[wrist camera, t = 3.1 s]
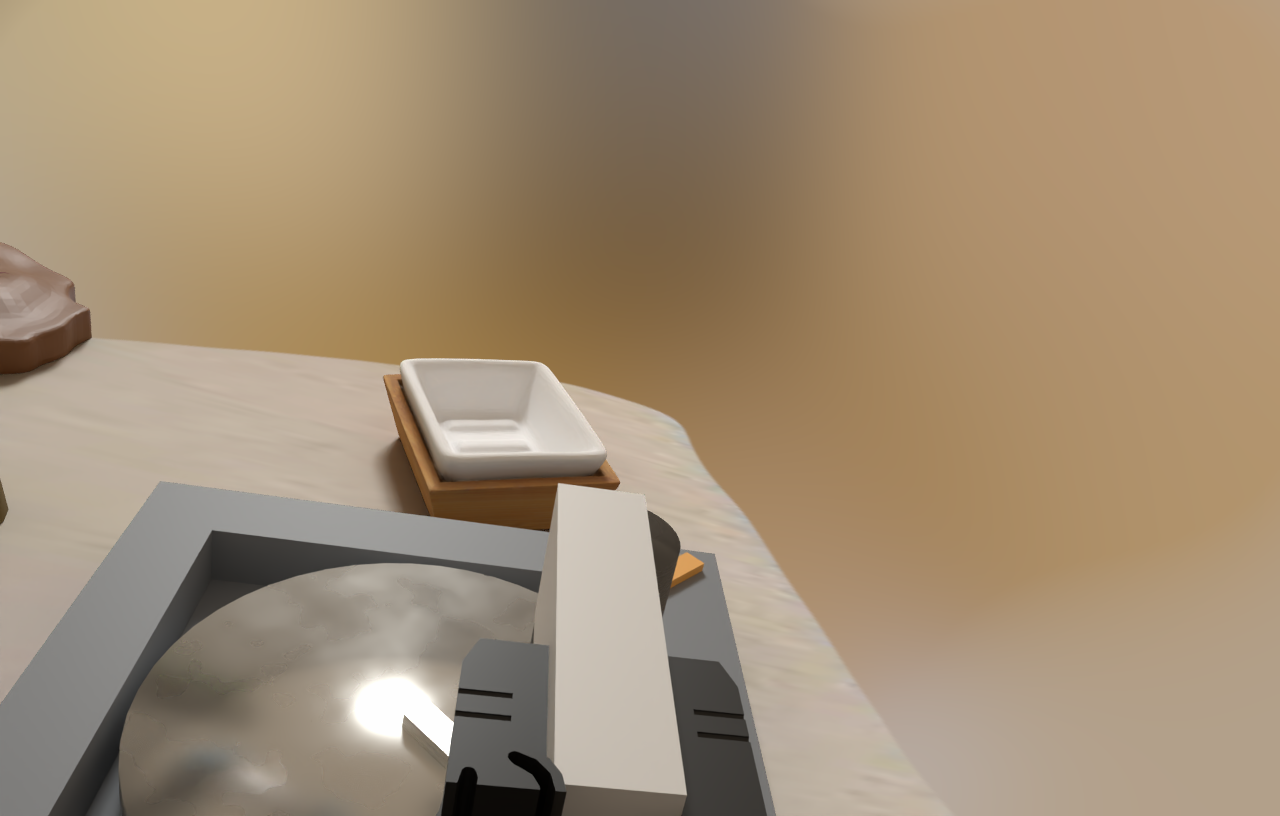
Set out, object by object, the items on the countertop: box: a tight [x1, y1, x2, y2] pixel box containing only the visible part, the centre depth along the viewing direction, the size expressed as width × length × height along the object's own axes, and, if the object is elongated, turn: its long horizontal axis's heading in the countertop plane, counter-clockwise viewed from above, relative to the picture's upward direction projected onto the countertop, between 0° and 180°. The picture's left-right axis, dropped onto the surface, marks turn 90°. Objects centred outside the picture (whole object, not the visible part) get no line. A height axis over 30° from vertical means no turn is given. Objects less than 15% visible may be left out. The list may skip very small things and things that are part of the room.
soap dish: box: [383, 359, 620, 530], centre depth 54 cm, size 12×10×5 cm
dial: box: [119, 510, 680, 816], centre depth 31 cm, size 17×17×13 cm
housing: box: [0, 481, 776, 816], centre depth 33 cm, size 24×24×4 cm
